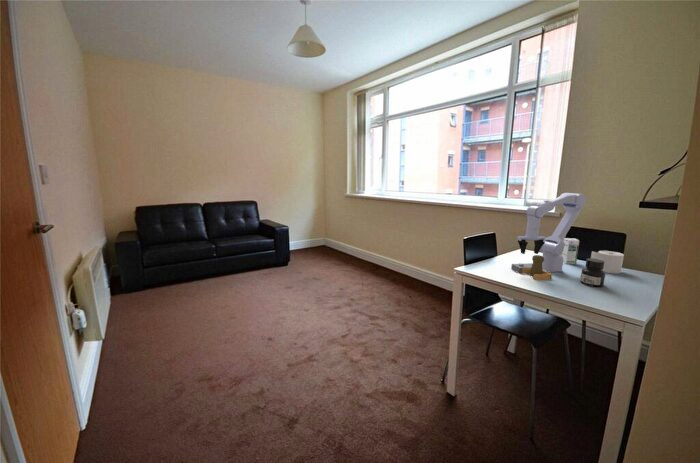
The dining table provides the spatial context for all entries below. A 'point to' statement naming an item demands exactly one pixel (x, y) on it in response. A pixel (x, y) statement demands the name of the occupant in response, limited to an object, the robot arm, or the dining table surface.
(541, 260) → the cork
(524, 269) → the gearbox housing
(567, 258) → the syrup box
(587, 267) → the ink bottle
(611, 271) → the toilet tissue
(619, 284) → the dining table surface
